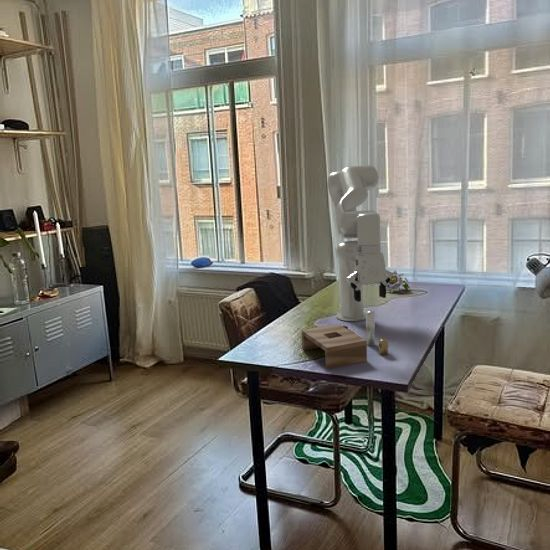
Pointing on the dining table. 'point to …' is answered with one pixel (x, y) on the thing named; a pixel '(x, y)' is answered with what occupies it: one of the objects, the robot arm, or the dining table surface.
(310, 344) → the hole stand
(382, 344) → the short pin
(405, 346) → the dining table surface
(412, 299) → the dining table surface
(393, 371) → the dining table surface
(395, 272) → the passion flower
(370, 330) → the long pin
